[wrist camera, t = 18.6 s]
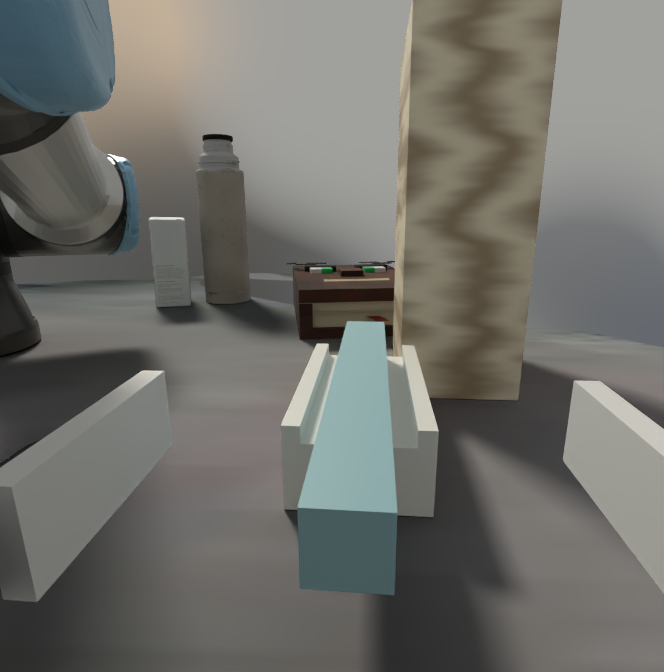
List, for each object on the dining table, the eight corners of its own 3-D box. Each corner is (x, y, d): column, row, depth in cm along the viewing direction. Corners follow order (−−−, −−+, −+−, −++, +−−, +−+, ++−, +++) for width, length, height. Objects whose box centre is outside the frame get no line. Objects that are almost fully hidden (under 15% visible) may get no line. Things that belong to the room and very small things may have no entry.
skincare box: (156, 299, 84) (147, 217, 80) (190, 297, 86) (183, 216, 82) (156, 308, 76) (146, 217, 72) (193, 305, 78) (185, 217, 74)
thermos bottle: (198, 300, 83) (183, 135, 76) (235, 294, 89) (225, 140, 81) (220, 306, 78) (207, 129, 70) (259, 299, 83) (250, 134, 76)
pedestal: (399, 396, 39) (413, -22, 31) (392, 344, 55) (401, 55, 46) (518, 400, 38) (565, -31, 30) (477, 346, 54) (501, 51, 46)
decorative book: (288, 286, 53) (285, 260, 82) (290, 348, 55) (286, 301, 84) (447, 282, 55) (389, 258, 84) (443, 342, 57) (388, 298, 86)
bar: (300, 588, 14) (297, 507, 14) (346, 356, 37) (347, 321, 37) (394, 595, 14) (397, 512, 13) (383, 357, 37) (384, 321, 36)
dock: (284, 509, 25) (280, 425, 23) (317, 399, 39) (316, 343, 38) (433, 517, 24) (438, 431, 23) (411, 402, 38) (414, 345, 37)
